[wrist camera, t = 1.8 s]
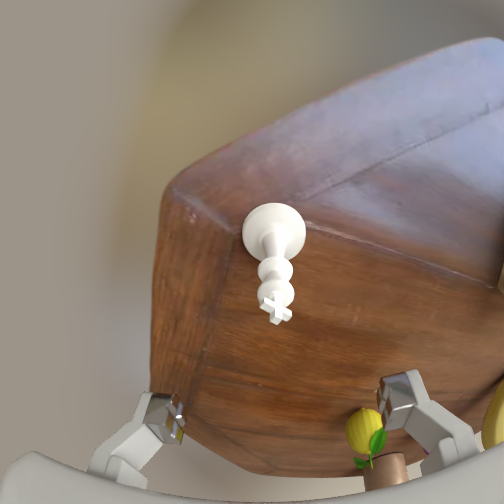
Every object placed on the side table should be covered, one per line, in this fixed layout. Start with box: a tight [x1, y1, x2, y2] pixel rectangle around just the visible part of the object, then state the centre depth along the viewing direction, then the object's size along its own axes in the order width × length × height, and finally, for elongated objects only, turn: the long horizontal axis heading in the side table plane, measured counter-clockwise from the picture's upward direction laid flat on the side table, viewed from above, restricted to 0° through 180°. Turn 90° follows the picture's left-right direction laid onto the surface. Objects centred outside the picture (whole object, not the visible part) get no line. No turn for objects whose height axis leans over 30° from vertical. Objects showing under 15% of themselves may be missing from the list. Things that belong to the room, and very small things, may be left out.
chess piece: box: [242, 203, 306, 325], centre depth 18 cm, size 5×5×10 cm
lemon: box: [345, 408, 387, 469], centre depth 31 cm, size 7×6×10 cm
